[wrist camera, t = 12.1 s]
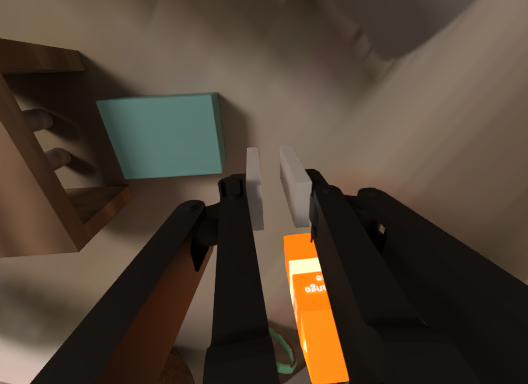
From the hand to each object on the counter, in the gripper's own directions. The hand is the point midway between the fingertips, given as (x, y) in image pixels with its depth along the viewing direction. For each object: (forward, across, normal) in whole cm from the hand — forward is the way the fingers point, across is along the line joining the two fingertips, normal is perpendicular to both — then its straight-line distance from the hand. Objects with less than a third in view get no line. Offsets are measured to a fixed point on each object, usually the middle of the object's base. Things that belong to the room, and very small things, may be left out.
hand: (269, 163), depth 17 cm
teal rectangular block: (+14, -11, 0) cm, 18 cm away
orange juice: (+15, +8, -23) cm, 28 cm away
